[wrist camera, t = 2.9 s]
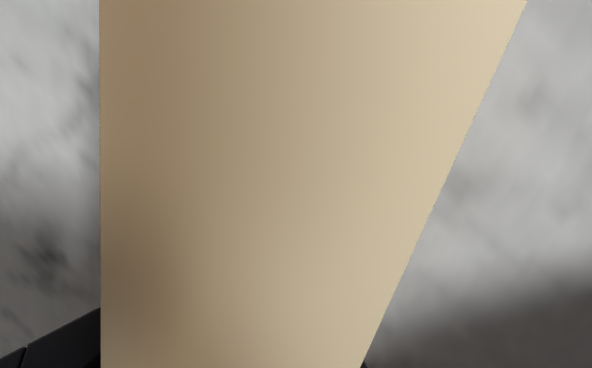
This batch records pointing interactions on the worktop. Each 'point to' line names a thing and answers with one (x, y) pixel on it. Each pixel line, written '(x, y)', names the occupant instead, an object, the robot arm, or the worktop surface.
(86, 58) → the worktop surface
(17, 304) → the worktop surface
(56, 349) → the robot arm
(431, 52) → the beige wooden bar
